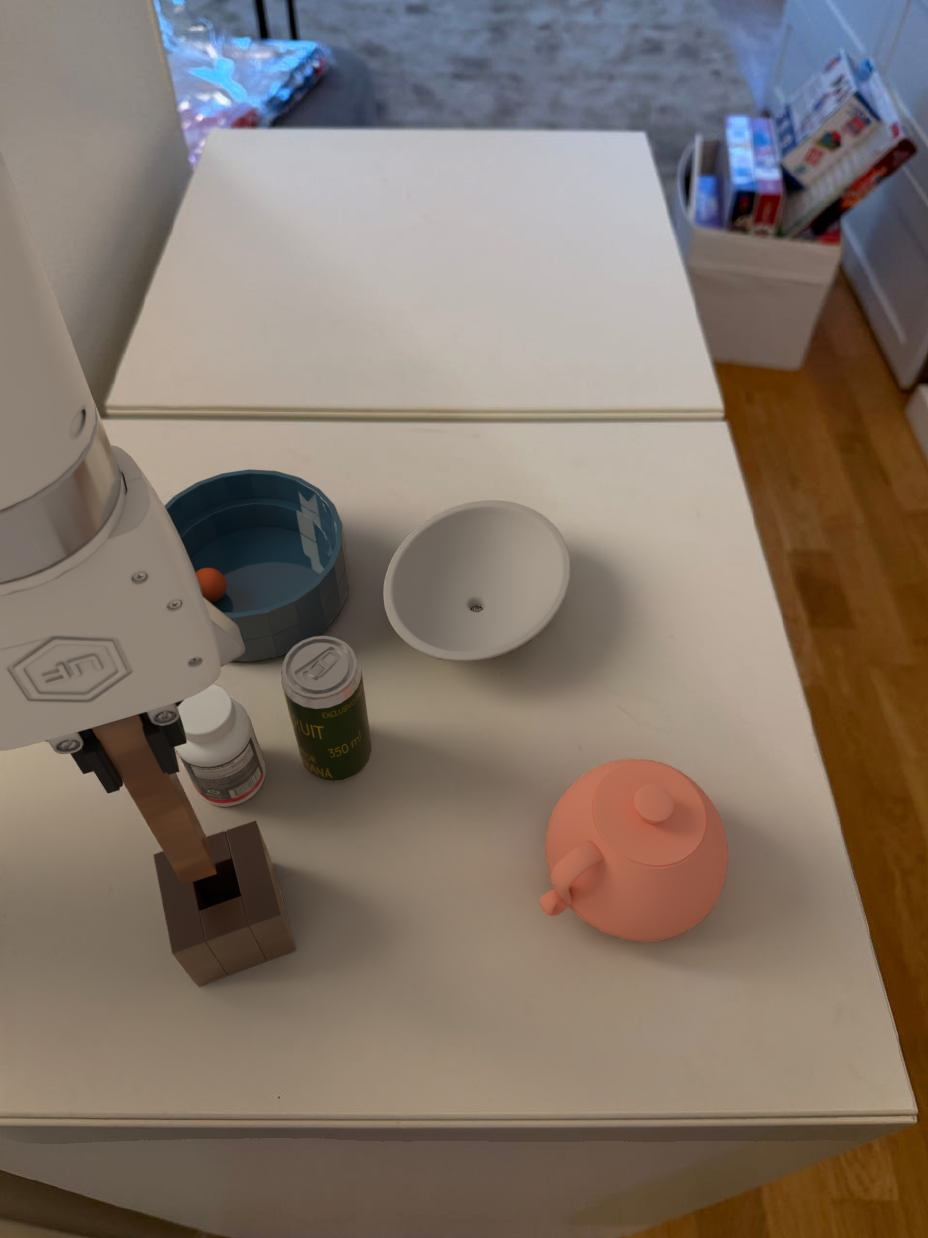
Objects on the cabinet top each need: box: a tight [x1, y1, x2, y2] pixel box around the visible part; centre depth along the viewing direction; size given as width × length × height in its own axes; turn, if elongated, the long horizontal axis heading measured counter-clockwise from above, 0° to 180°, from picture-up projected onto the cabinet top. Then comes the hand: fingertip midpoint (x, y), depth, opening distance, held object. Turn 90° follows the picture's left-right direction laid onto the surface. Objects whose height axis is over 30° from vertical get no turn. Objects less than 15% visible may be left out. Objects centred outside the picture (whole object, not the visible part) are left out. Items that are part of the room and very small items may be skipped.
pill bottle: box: [174, 683, 267, 808], centre depth 65 cm, size 5×5×10 cm
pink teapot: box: [539, 758, 729, 942], centre depth 61 cm, size 12×14×10 cm
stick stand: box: [152, 820, 297, 988], centre depth 60 cm, size 7×7×7 cm
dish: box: [382, 499, 572, 663], centre depth 77 cm, size 18×14×5 cm
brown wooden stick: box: [91, 713, 217, 885], centre depth 47 cm, size 2×2×18 cm
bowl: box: [163, 468, 350, 662], centre depth 77 cm, size 16×16×6 cm
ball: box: [195, 568, 226, 603], centre depth 77 cm, size 3×3×3 cm
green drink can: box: [280, 635, 373, 783], centre depth 66 cm, size 5×5×12 cm
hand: (138, 755), depth 44 cm, fingers closed on brown wooden stick, 2 cm apart
